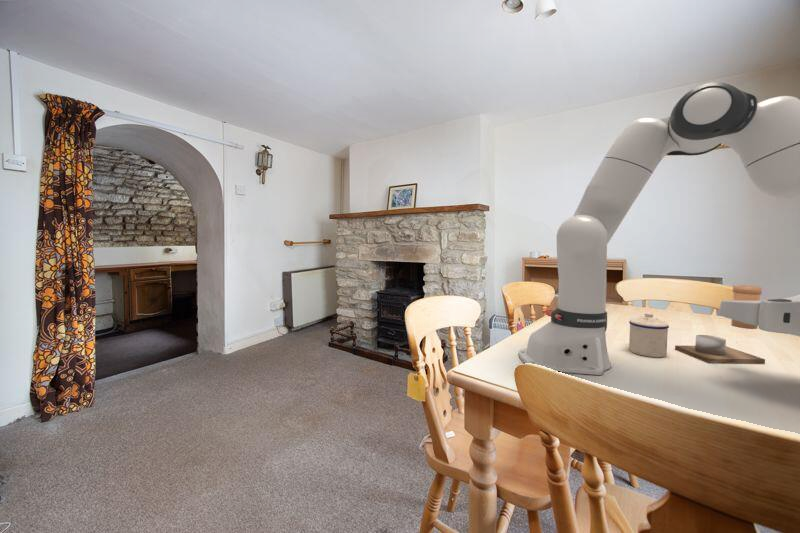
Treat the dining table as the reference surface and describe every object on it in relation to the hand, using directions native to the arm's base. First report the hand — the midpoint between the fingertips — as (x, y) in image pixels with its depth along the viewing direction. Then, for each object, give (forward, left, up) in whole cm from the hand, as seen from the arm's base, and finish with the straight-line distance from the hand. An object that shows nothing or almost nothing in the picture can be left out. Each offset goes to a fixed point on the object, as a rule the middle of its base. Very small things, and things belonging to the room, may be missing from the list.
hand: (742, 303), depth 79 cm
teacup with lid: (-14, +13, -17) cm, 25 cm away
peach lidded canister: (0, -1, -6) cm, 6 cm away
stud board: (+3, +9, -17) cm, 19 cm away
